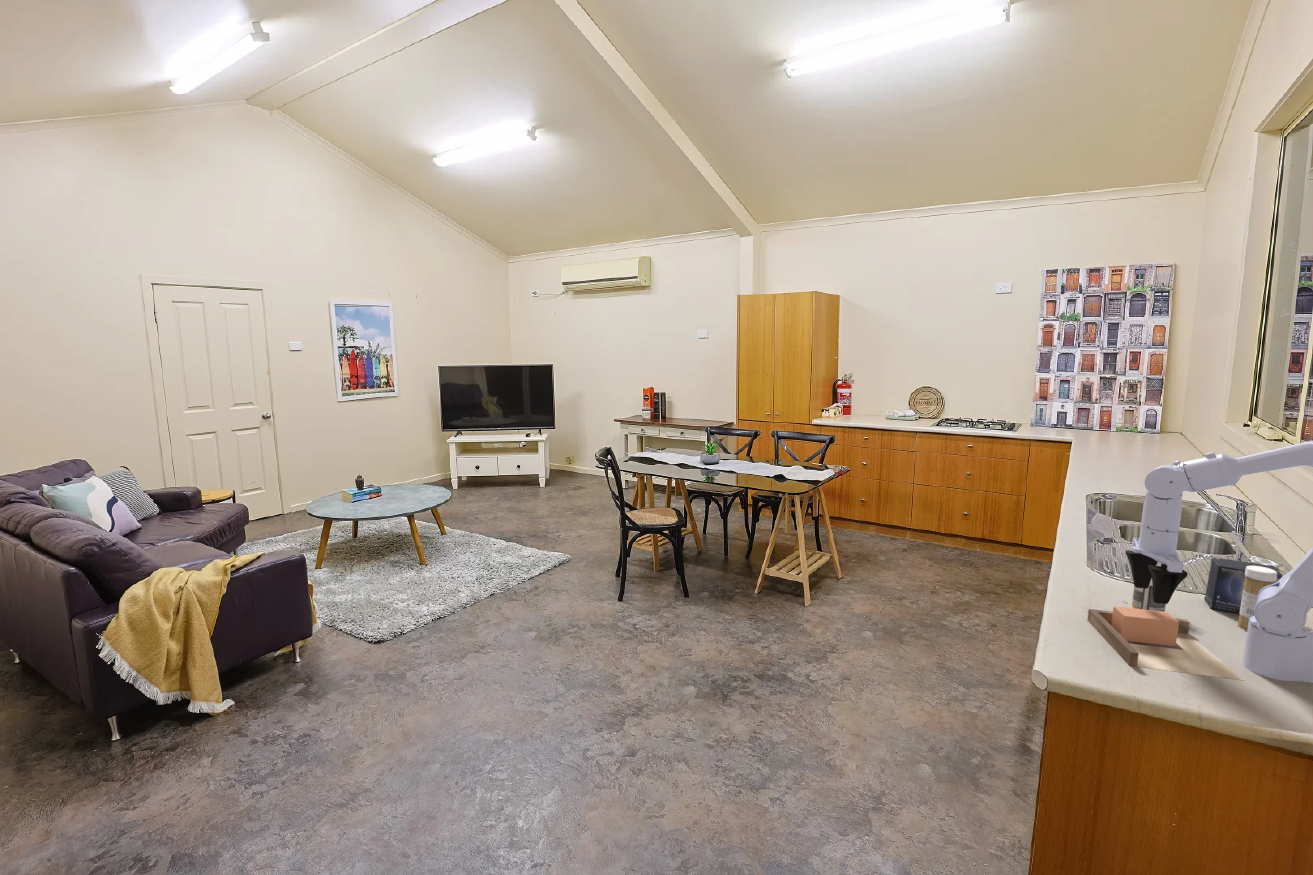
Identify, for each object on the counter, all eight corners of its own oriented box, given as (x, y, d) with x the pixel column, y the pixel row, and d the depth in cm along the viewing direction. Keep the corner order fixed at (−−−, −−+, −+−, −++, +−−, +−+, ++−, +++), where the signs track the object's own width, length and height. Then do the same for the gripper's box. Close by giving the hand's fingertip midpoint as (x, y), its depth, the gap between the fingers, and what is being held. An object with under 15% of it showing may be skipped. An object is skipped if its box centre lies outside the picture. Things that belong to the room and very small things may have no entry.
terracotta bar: (1121, 640, 120) (1124, 615, 119) (1110, 629, 124) (1113, 606, 123) (1175, 646, 117) (1179, 621, 117) (1163, 635, 122) (1166, 611, 121)
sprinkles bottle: (1271, 634, 125) (1282, 570, 123) (1260, 638, 123) (1271, 574, 121) (1242, 624, 129) (1252, 563, 127) (1231, 628, 127) (1241, 566, 125)
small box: (1210, 610, 136) (1217, 564, 135) (1203, 599, 142) (1210, 556, 140) (1276, 621, 131) (1284, 574, 129) (1265, 610, 137) (1273, 565, 135)
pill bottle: (1165, 611, 135) (1171, 568, 134) (1163, 619, 131) (1169, 575, 130) (1132, 603, 139) (1138, 561, 138) (1129, 611, 135) (1135, 568, 134)
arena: (1184, 635, 124) (1186, 619, 123) (1244, 685, 106) (1247, 666, 105) (1086, 624, 128) (1088, 608, 128) (1128, 670, 110) (1130, 652, 110)
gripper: (1118, 516, 126) (1110, 579, 128) (1154, 537, 113) (1145, 607, 115) (1158, 518, 125) (1150, 582, 127) (1200, 540, 111) (1190, 612, 113)
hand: (1150, 594), depth 121 cm, fingers open, 7 cm apart
